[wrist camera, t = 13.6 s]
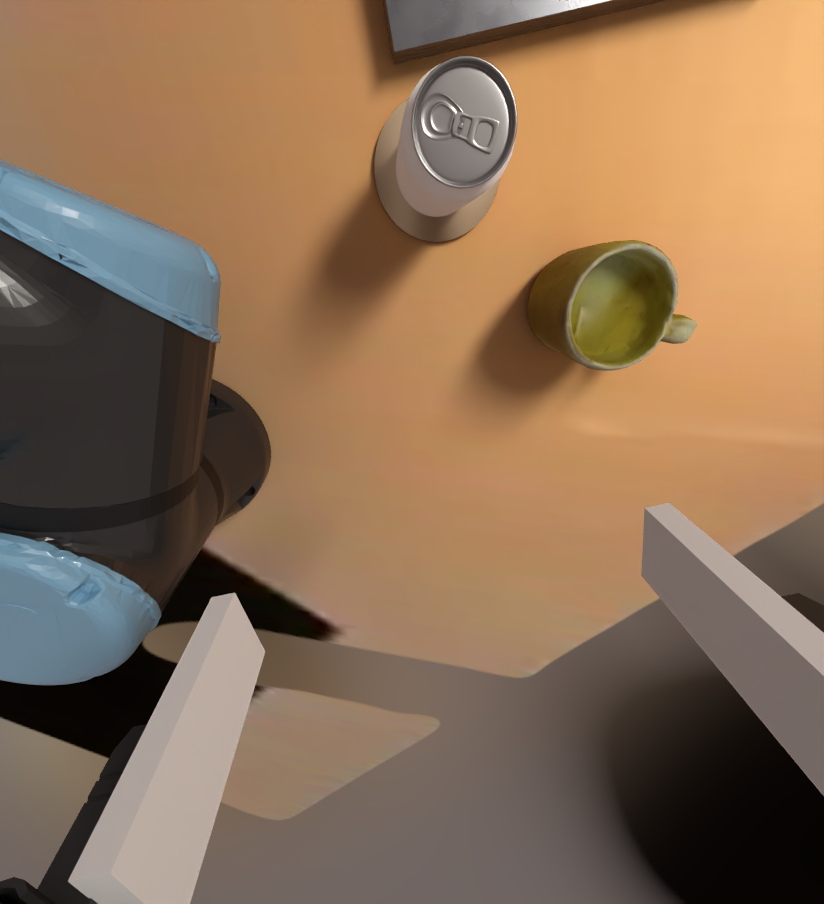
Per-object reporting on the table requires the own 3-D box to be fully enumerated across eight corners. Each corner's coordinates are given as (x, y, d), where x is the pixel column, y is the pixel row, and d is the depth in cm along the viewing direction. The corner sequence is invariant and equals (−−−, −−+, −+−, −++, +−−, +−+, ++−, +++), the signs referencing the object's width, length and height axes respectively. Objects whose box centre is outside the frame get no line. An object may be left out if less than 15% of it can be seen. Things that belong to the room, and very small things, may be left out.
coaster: (389, 253, 35) (389, 253, 35) (360, 107, 31) (360, 106, 30) (505, 227, 35) (507, 227, 34) (491, 77, 31) (493, 74, 30)
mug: (490, 341, 37) (571, 337, 28) (536, 232, 36) (633, 191, 27) (582, 394, 42) (675, 405, 33) (623, 299, 41) (729, 284, 32)
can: (407, 106, 31) (422, 21, 20) (488, 136, 32) (545, 71, 21) (386, 203, 33) (389, 175, 22) (462, 228, 34) (500, 213, 23)
